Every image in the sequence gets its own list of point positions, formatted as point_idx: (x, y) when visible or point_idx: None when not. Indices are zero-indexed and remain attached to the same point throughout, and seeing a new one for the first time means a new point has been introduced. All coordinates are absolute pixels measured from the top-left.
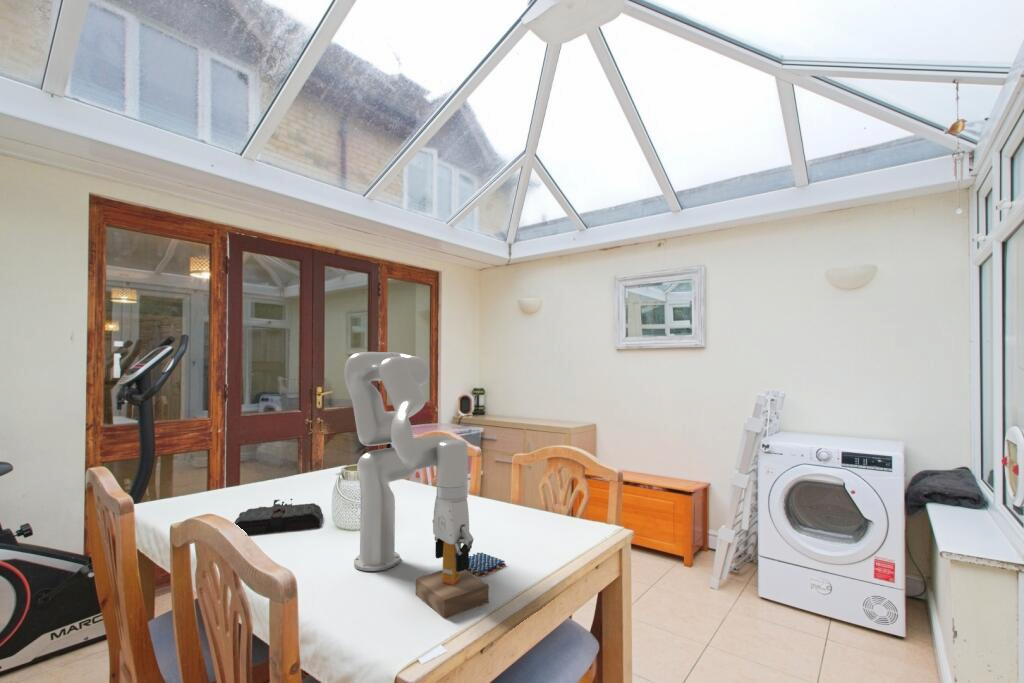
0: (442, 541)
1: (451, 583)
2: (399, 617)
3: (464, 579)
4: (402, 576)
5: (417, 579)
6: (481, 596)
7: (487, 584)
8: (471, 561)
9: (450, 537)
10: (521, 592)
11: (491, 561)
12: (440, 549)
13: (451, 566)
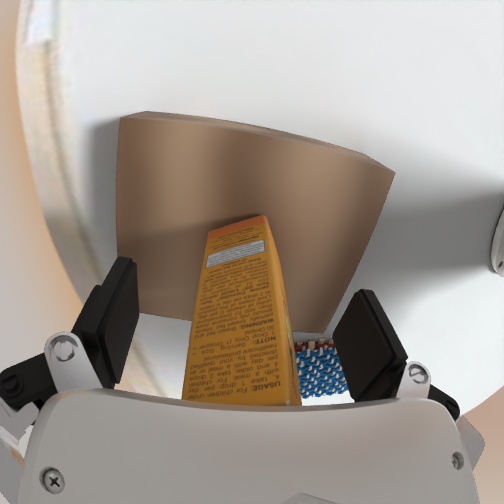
0: (372, 382)
1: (214, 230)
2: (279, 11)
3: None
4: (459, 215)
5: (380, 167)
6: None
7: None
8: (340, 366)
9: (62, 458)
10: (135, 346)
11: None
12: (362, 337)
13: (211, 280)
